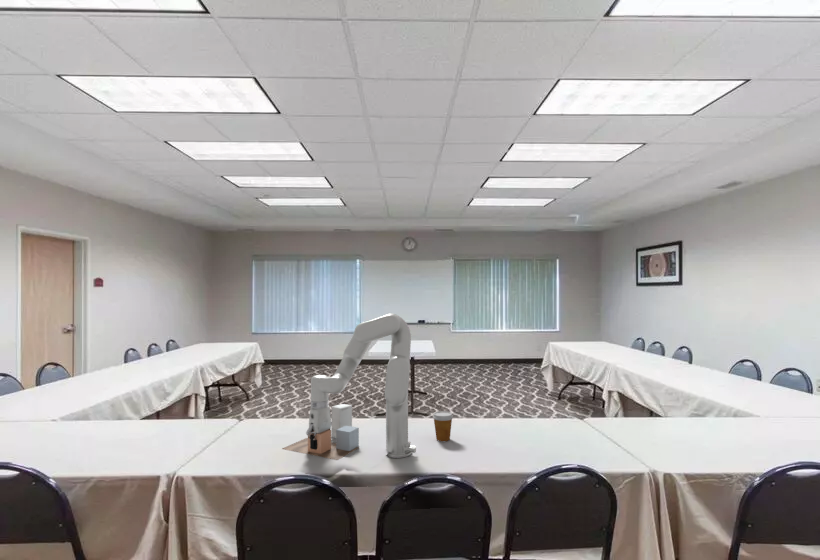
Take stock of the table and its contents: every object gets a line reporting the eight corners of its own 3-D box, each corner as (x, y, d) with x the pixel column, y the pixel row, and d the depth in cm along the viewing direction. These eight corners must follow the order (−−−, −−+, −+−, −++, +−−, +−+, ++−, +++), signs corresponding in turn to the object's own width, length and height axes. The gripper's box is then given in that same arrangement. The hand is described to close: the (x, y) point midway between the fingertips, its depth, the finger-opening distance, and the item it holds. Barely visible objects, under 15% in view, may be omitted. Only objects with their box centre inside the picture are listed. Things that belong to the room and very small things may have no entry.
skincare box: (339, 442, 194) (340, 408, 194) (330, 439, 198) (330, 406, 198) (352, 437, 200) (352, 404, 201) (343, 435, 204) (343, 403, 205)
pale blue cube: (358, 446, 184) (358, 427, 185) (349, 451, 178) (349, 432, 179) (345, 443, 188) (345, 425, 188) (336, 448, 181) (336, 429, 182)
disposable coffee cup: (453, 436, 201) (452, 411, 202) (453, 443, 192) (452, 416, 192) (433, 435, 202) (433, 410, 203) (432, 442, 192) (432, 416, 193)
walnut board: (359, 451, 182) (359, 447, 182) (337, 463, 168) (337, 460, 168) (306, 441, 196) (306, 437, 196) (281, 452, 182) (281, 448, 182)
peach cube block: (331, 448, 181) (331, 429, 182) (320, 453, 175) (320, 434, 175) (318, 446, 184) (318, 427, 185) (307, 451, 178) (307, 432, 179)
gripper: (313, 410, 171) (313, 454, 170) (338, 400, 187) (338, 441, 186) (299, 408, 175) (298, 451, 174) (325, 399, 190) (325, 438, 189)
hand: (319, 445), depth 180 cm, fingers closed on peach cube block, 7 cm apart
